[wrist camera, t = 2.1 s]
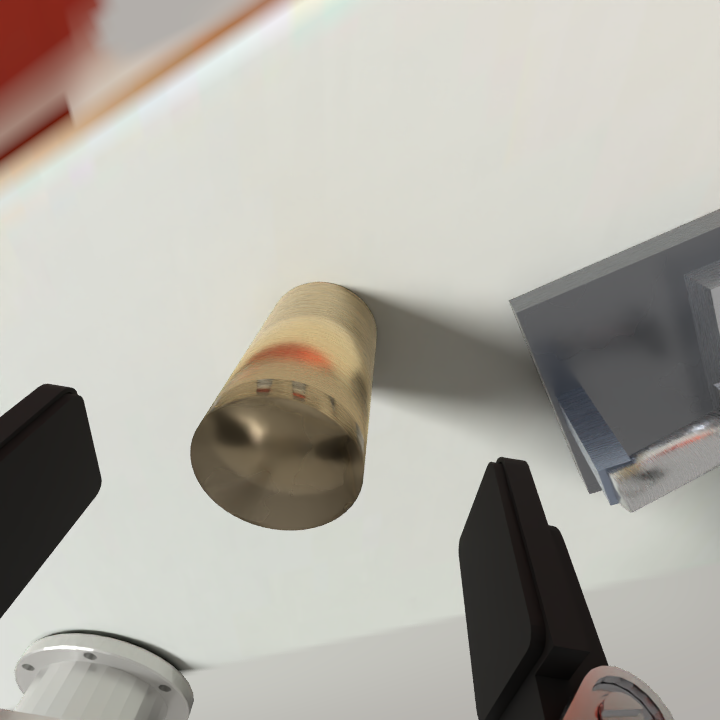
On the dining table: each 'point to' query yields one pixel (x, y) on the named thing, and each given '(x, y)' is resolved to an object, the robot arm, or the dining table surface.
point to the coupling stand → (635, 362)
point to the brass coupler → (293, 414)
